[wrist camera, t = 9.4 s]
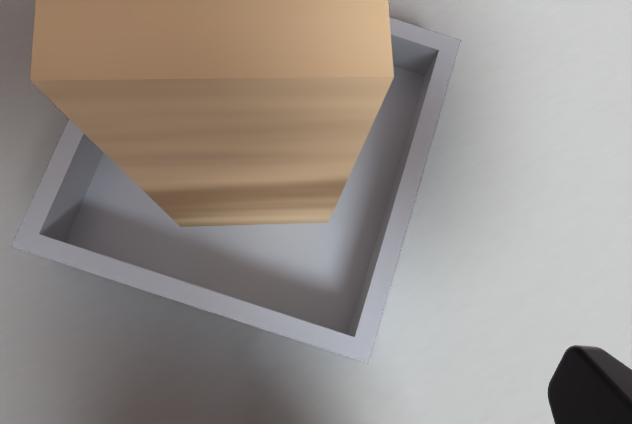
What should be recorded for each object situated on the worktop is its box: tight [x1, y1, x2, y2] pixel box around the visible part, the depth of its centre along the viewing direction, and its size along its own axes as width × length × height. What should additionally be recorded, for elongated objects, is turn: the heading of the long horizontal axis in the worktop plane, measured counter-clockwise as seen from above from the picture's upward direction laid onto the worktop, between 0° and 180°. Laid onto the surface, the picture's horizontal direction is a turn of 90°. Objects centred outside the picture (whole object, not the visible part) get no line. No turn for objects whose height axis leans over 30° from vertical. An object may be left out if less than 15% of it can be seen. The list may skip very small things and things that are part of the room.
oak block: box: [30, 0, 394, 227], centre depth 13 cm, size 5×5×11 cm
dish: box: [11, 17, 461, 364], centre depth 18 cm, size 11×11×2 cm
